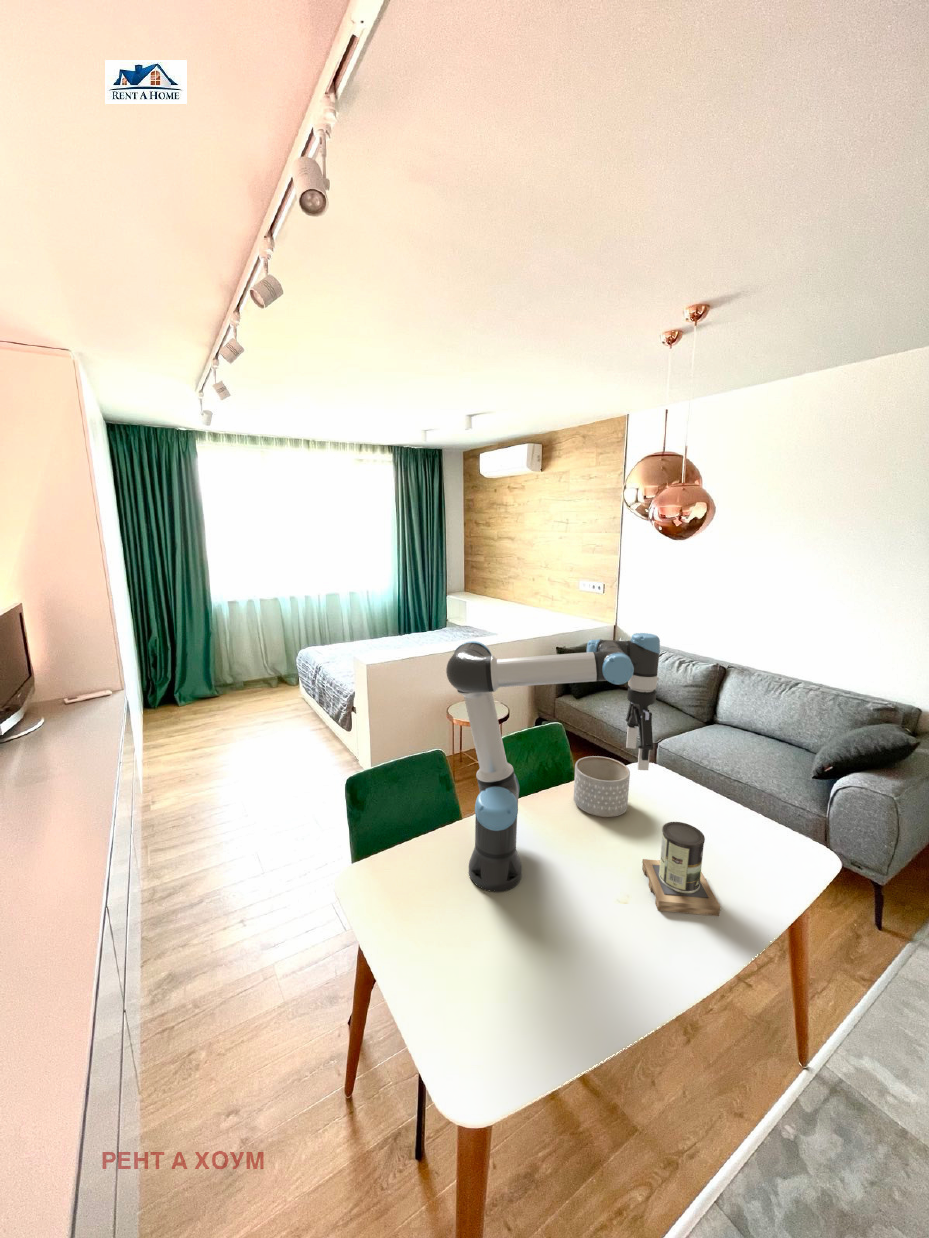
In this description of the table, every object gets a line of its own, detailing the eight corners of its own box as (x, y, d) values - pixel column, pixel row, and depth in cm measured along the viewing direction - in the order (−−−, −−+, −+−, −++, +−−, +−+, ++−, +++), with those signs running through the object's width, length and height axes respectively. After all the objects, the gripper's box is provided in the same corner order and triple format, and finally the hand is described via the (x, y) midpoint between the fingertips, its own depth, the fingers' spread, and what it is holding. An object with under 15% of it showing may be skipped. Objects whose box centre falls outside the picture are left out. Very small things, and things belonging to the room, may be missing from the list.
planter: (593, 786, 181) (595, 751, 178) (637, 807, 167) (640, 770, 164) (562, 802, 169) (564, 766, 167) (607, 827, 155) (610, 787, 152)
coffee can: (693, 869, 131) (698, 823, 128) (704, 896, 121) (710, 847, 118) (654, 864, 133) (658, 819, 130) (662, 890, 123) (667, 842, 120)
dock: (658, 911, 120) (659, 899, 120) (641, 868, 136) (642, 857, 135) (719, 916, 118) (720, 905, 118) (695, 872, 134) (696, 862, 134)
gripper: (670, 704, 119) (663, 780, 123) (644, 675, 144) (638, 740, 147) (639, 702, 120) (633, 778, 124) (618, 674, 144) (614, 739, 148)
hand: (636, 758), depth 135 cm, fingers open, 13 cm apart
